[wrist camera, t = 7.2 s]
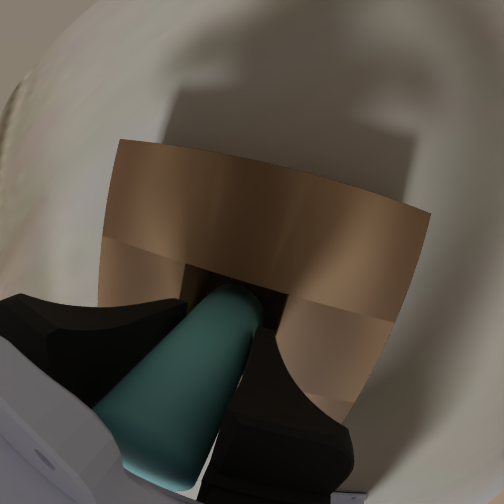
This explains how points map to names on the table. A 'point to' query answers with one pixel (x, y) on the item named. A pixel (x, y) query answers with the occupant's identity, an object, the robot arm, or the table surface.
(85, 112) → the table surface
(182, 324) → the peg
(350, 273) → the hole block
